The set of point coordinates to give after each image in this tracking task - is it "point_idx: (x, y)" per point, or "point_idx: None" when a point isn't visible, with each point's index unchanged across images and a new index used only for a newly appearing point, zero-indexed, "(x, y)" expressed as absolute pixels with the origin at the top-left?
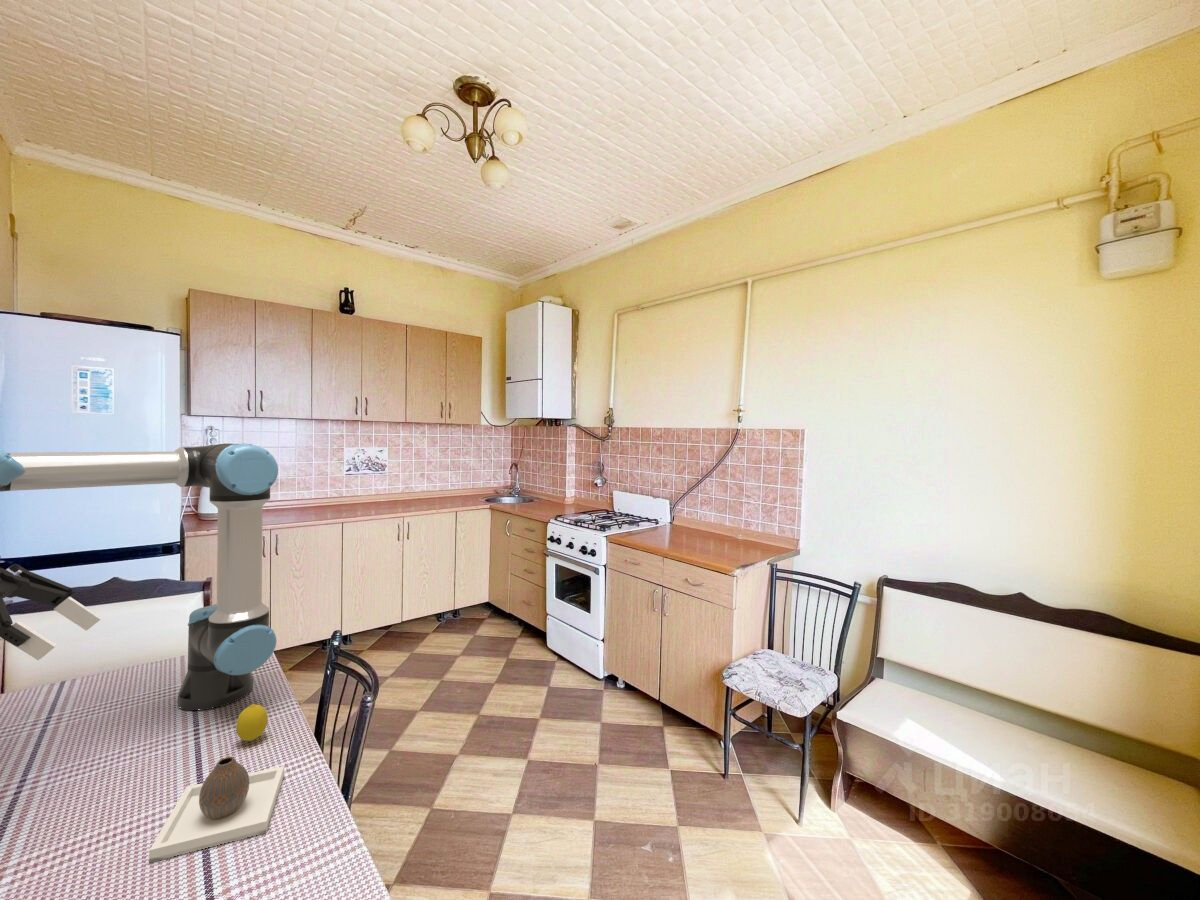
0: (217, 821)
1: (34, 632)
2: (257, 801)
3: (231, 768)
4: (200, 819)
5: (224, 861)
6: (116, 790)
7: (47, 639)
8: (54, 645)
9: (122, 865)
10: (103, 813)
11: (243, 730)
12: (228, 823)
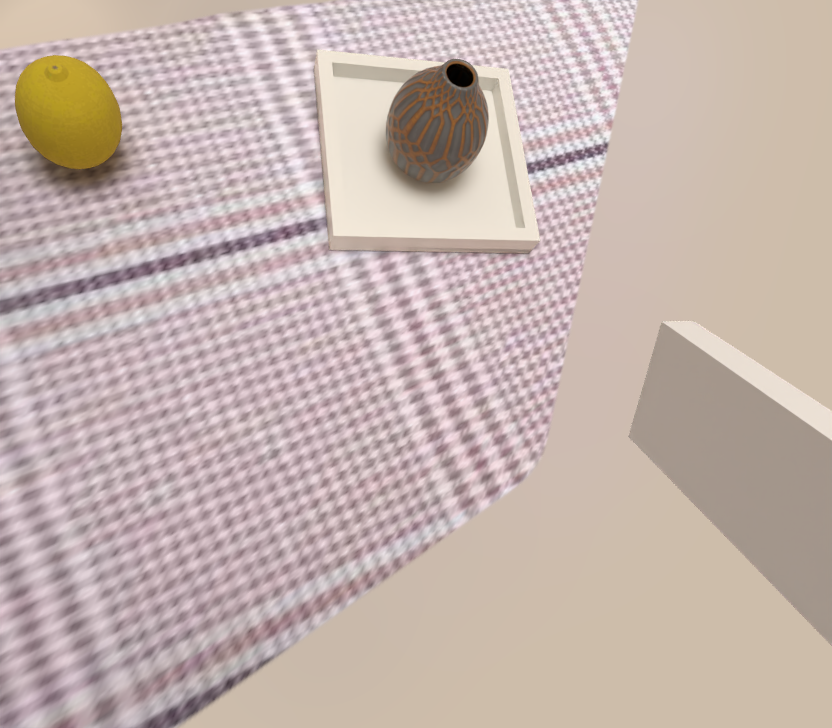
0: None
1: (824, 416)
2: None
3: (469, 71)
4: (438, 193)
5: (551, 138)
6: (228, 433)
7: (724, 356)
8: (685, 327)
9: (522, 296)
10: (332, 415)
11: (118, 132)
12: None
